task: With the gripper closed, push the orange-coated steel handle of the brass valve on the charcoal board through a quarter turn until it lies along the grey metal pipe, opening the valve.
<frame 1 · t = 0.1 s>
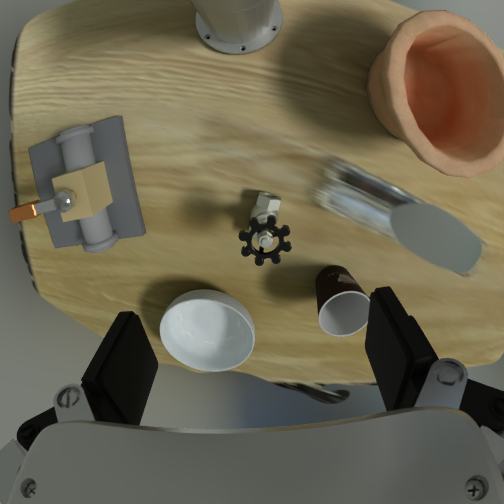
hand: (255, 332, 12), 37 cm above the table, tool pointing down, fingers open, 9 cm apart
valve lever: (40, 207, 37), point 10 cm above the table, hinge at 0.0°
valve: (263, 211, 48), on the table
cereal bowl: (211, 314, 57), on the table
valve board: (97, 182, 46), on the table
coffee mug: (338, 284, 53), on the table
pottery: (412, 93, 39), on the table
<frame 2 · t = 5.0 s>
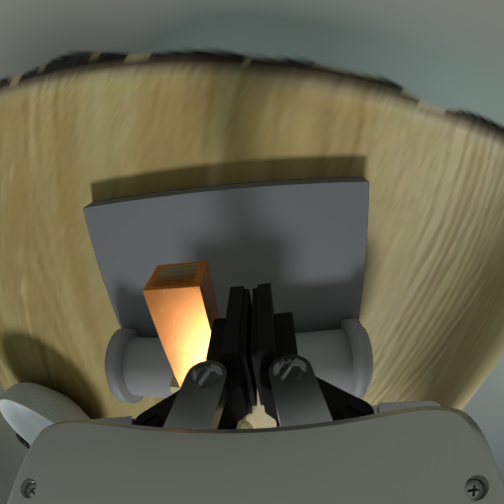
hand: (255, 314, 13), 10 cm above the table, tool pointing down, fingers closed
valve lever: (211, 388, 14), point 10 cm above the table, hinge at 2.0°, touching gripper
cereal bowl: (63, 404, 34), on the table
valve board: (238, 335, 26), on the table
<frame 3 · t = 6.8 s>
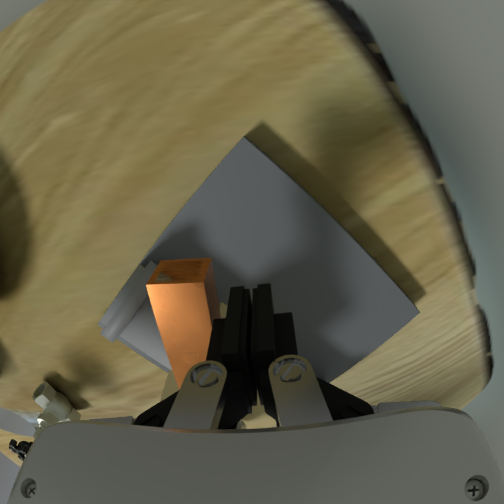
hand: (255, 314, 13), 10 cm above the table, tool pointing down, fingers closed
valve lever: (207, 386, 14), point 10 cm above the table, hinge at 46.0°, touching gripper
valve: (62, 394, 33), on the table
valve board: (233, 335, 26), on the table
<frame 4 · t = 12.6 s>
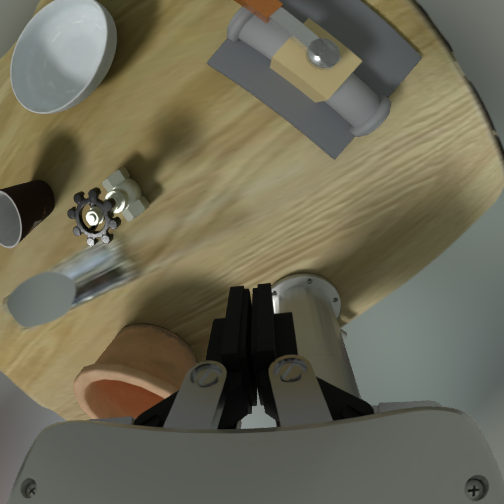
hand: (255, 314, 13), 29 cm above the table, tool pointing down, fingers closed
valve lever: (280, 18, 22), point 10 cm above the table, hinge at 85.1°
valve: (132, 189, 40), on the table
cereal bowl: (80, 56, 31), on the table
valve board: (306, 69, 33), on the table
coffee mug: (35, 200, 41), on the table
pottery: (154, 355, 54), on the table
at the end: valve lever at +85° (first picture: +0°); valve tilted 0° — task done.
